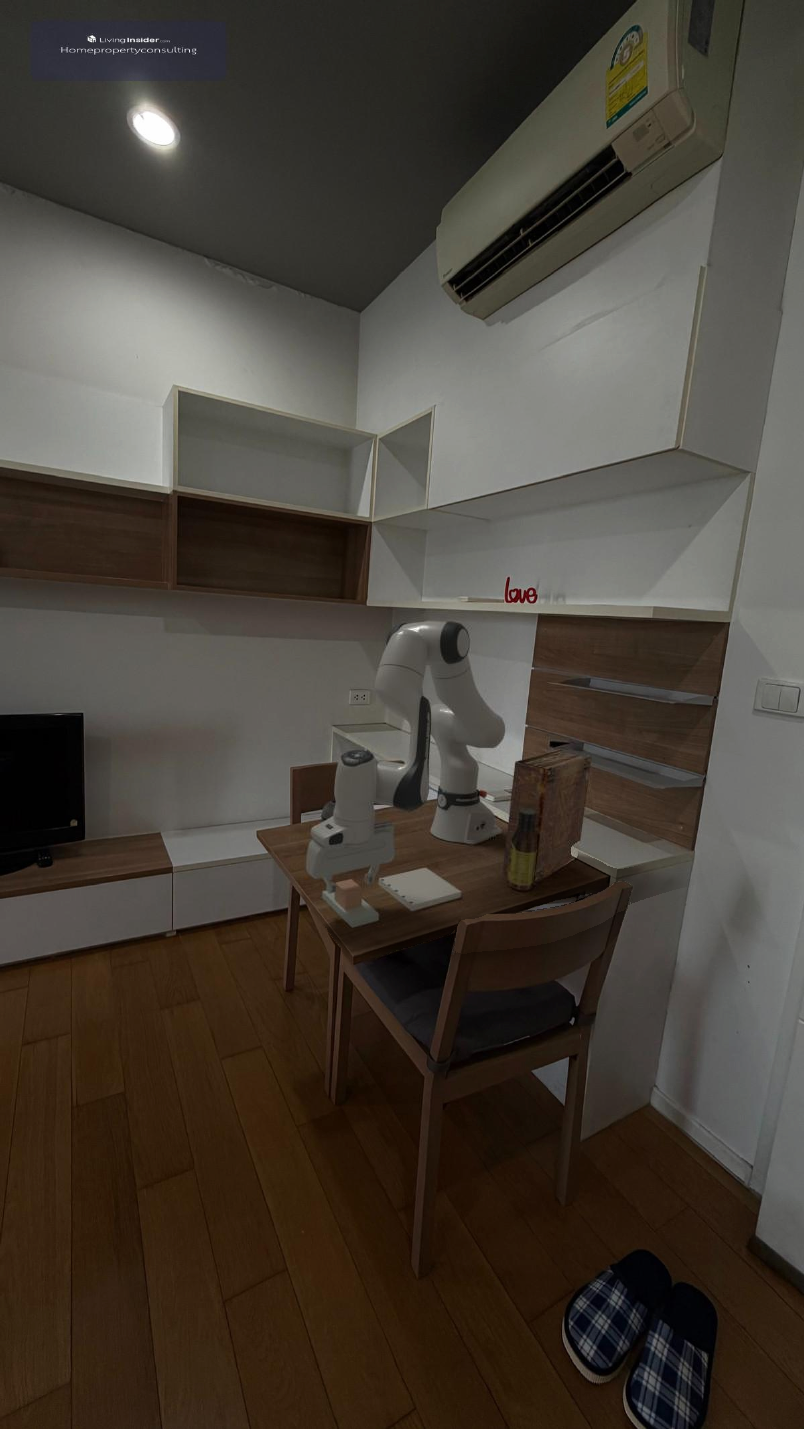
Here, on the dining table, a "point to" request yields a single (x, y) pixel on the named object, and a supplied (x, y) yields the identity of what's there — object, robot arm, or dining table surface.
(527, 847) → the sauce bottle
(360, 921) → the green slab pink block
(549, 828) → the book
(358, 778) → the robot arm
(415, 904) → the board
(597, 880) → the dining table surface
